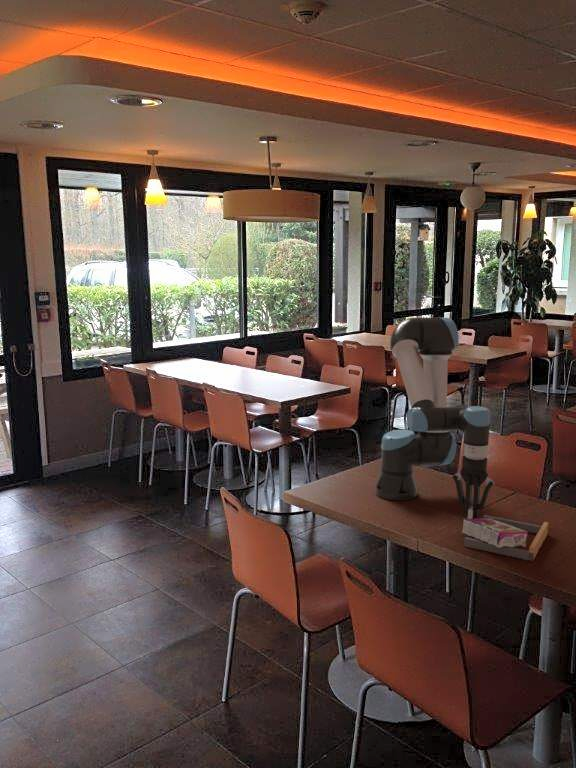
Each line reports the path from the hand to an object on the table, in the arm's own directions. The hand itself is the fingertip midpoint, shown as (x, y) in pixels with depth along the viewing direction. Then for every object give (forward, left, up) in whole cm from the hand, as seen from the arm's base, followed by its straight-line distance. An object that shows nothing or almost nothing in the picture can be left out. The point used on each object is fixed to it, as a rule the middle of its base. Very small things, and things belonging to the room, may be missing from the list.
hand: (470, 527), depth 217 cm
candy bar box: (+2, -1, +2) cm, 3 cm away
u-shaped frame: (+11, 0, -2) cm, 12 cm away
